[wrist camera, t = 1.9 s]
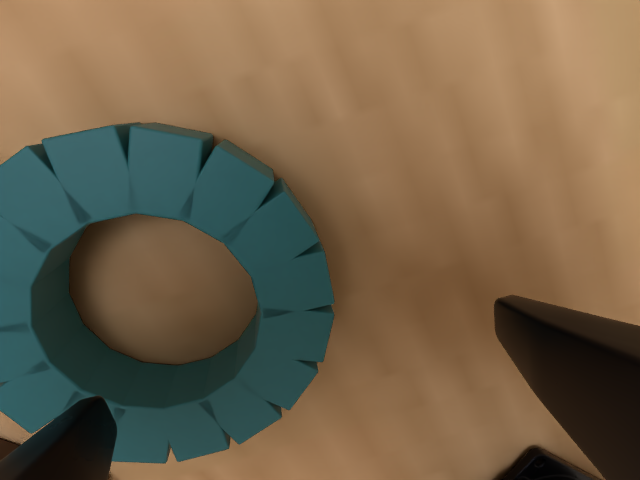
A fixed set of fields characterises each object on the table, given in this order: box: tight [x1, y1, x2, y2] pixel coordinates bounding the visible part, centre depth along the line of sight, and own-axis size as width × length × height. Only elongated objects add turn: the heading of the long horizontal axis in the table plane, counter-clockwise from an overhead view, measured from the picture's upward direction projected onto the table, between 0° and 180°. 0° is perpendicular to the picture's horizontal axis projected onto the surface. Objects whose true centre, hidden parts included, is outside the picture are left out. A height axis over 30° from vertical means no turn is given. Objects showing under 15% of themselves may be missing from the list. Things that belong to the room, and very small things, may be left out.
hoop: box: [0, 122, 335, 463], centre depth 13 cm, size 11×11×2 cm
